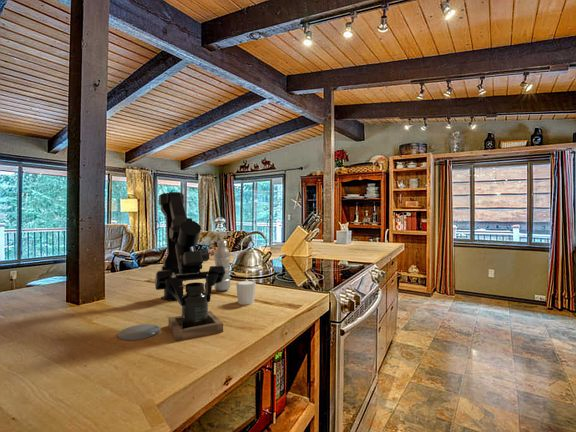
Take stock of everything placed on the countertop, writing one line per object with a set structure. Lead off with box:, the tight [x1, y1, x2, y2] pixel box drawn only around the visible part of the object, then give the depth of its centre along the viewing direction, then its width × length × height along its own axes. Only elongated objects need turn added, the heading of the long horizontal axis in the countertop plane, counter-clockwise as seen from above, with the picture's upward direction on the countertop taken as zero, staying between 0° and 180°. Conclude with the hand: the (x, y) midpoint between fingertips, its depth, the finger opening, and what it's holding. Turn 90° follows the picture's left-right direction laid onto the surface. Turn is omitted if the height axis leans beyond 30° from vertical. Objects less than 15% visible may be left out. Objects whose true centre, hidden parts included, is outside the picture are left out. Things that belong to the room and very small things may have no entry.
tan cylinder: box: [235, 280, 257, 306], centre depth 111 cm, size 7×7×7 cm
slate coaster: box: [117, 323, 161, 341], centre depth 84 cm, size 10×10×1 cm
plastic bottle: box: [213, 240, 232, 292], centre depth 128 cm, size 6×7×20 cm
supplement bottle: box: [181, 281, 209, 329], centre depth 87 cm, size 7×7×12 cm
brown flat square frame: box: [167, 310, 224, 342], centre depth 87 cm, size 12×12×2 cm
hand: (196, 303), depth 85 cm, fingers closed on supplement bottle, 7 cm apart
